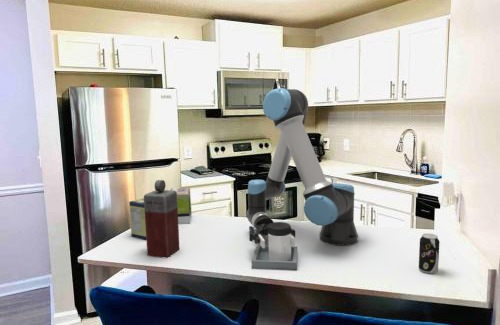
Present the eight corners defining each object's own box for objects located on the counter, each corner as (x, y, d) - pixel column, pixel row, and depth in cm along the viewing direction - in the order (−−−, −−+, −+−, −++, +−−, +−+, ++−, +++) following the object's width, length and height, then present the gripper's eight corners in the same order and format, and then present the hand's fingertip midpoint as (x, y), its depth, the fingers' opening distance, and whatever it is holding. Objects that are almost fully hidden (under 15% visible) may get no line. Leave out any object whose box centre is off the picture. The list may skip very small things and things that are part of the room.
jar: (275, 264, 128) (275, 230, 126) (262, 257, 135) (262, 224, 133) (296, 258, 133) (296, 225, 131) (282, 251, 140) (282, 220, 138)
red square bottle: (154, 246, 149) (150, 177, 145) (179, 249, 146) (176, 178, 142) (141, 254, 141) (136, 181, 137) (168, 258, 137) (164, 182, 133)
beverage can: (441, 274, 120) (443, 238, 118) (424, 275, 119) (426, 238, 118) (431, 266, 125) (433, 232, 124) (415, 267, 125) (416, 233, 123)
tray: (297, 253, 140) (297, 246, 139) (296, 270, 125) (296, 262, 124) (257, 251, 142) (256, 245, 141) (251, 268, 127) (251, 261, 127)
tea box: (172, 216, 192) (170, 187, 190) (191, 215, 193) (190, 186, 191) (169, 225, 177) (167, 194, 175) (190, 223, 178) (189, 193, 176)
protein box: (173, 230, 170) (172, 196, 167) (148, 240, 156) (145, 204, 154) (156, 226, 175) (155, 194, 173) (130, 236, 162) (128, 201, 159)
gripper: (289, 230, 152) (309, 250, 131) (235, 235, 148) (246, 256, 126) (289, 212, 151) (309, 229, 130) (234, 216, 147) (246, 235, 125)
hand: (278, 243), depth 128 cm, fingers open, 10 cm apart
